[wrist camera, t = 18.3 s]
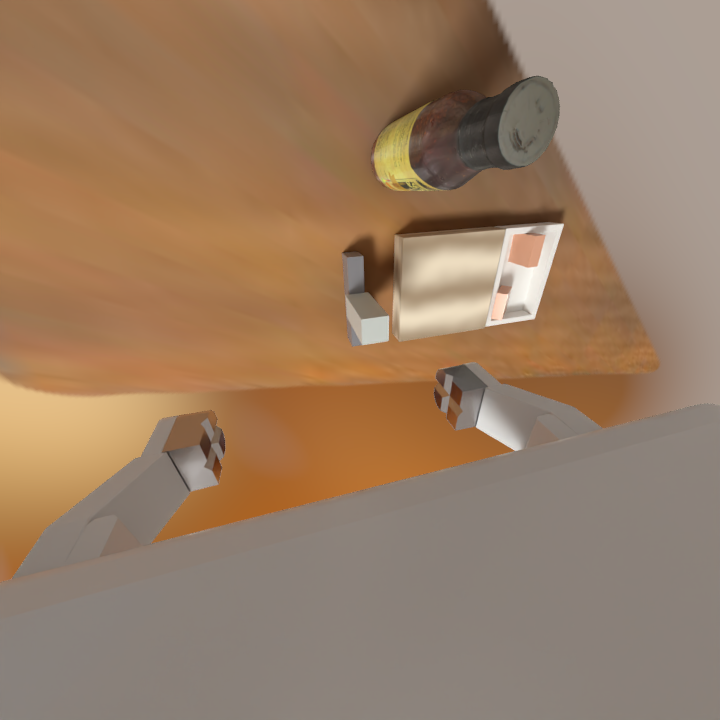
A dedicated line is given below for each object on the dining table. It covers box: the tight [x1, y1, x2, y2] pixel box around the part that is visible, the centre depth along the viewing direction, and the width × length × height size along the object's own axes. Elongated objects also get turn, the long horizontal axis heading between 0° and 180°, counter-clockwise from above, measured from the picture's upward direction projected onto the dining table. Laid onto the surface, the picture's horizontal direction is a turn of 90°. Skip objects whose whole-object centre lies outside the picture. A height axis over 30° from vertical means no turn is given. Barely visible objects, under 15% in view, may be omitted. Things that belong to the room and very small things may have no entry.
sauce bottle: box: [371, 76, 560, 191], centre depth 24 cm, size 7×6×20 cm
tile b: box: [491, 285, 512, 321], centre depth 43 cm, size 4×4×2 cm
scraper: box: [342, 251, 389, 346], centre depth 35 cm, size 12×3×11 cm, turn 2°
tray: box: [485, 222, 564, 326], centre depth 43 cm, size 14×9×2 cm, turn 2°
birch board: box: [392, 227, 506, 342], centre depth 40 cm, size 14×14×3 cm
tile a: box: [508, 233, 546, 268], centre depth 39 cm, size 4×4×2 cm
